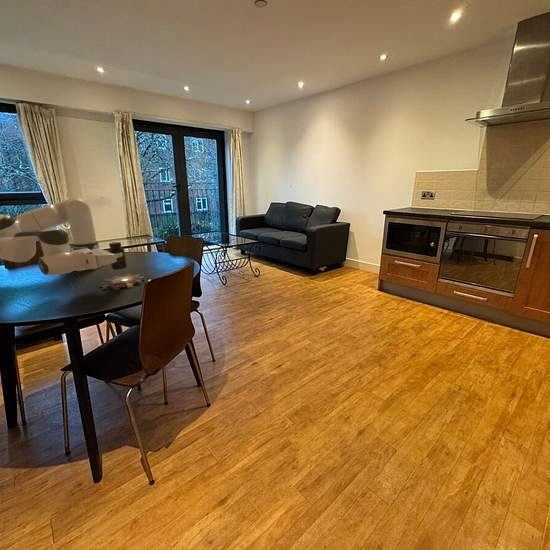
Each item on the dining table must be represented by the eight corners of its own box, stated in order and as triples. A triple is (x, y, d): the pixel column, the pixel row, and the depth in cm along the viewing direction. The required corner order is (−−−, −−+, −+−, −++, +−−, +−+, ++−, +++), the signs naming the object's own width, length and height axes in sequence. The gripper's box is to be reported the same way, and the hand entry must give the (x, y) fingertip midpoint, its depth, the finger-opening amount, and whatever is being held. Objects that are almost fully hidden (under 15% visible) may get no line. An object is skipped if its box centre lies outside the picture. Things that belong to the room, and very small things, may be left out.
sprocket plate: (91, 289, 136) (90, 285, 135) (117, 276, 154) (116, 273, 153) (129, 290, 133) (128, 287, 133) (151, 277, 151) (151, 274, 150)
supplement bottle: (130, 265, 144) (125, 241, 140) (123, 269, 138) (119, 244, 134) (115, 266, 144) (111, 241, 140) (108, 270, 137) (103, 244, 134)
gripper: (80, 261, 137) (111, 256, 147) (95, 269, 124) (128, 262, 134) (77, 248, 135) (109, 243, 145) (91, 255, 122) (126, 249, 132)
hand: (118, 252), depth 139 cm, fingers closed on supplement bottle, 7 cm apart
